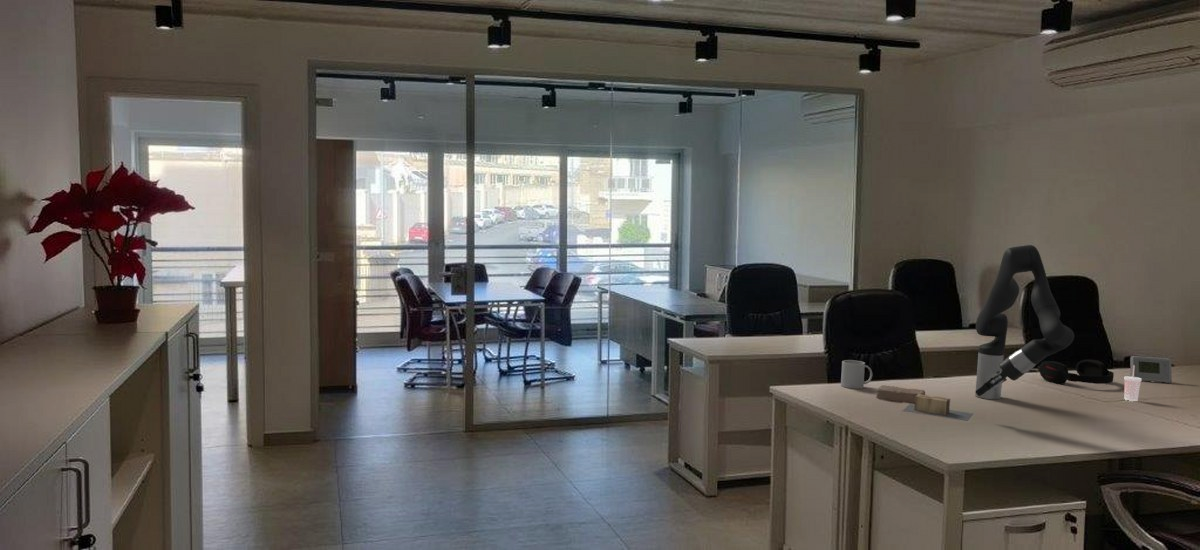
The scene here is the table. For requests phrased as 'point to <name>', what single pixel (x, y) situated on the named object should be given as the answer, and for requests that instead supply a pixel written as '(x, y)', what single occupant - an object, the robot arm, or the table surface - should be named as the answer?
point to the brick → (898, 393)
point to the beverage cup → (1132, 387)
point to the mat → (951, 414)
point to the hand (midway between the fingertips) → (977, 393)
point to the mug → (854, 374)
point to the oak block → (932, 404)
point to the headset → (1086, 369)
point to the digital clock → (1151, 368)
